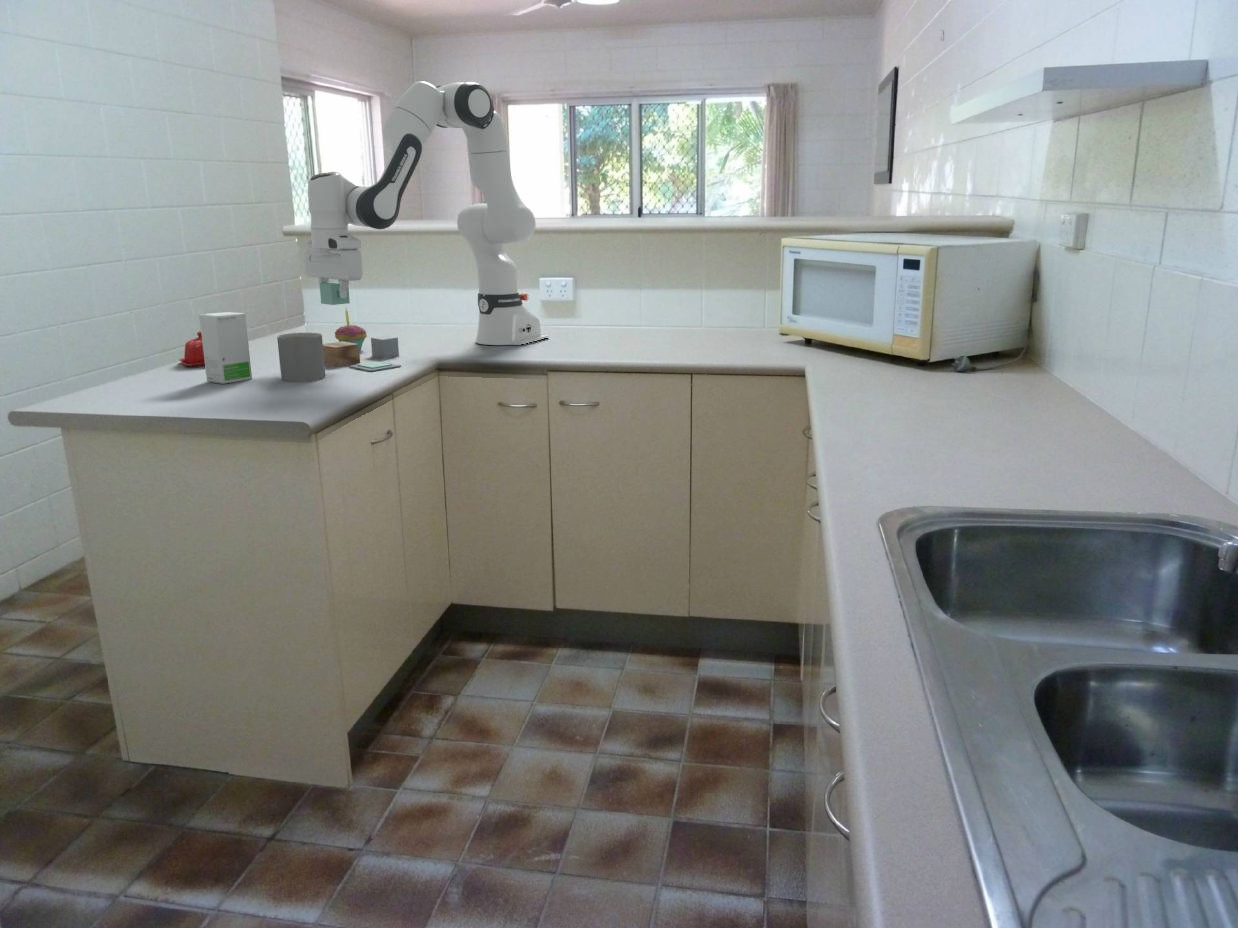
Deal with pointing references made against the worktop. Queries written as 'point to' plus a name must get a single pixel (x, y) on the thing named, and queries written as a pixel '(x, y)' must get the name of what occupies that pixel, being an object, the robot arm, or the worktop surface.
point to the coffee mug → (301, 357)
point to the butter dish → (194, 352)
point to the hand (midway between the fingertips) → (334, 297)
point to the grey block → (385, 346)
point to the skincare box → (225, 347)
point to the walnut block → (341, 353)
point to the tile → (375, 366)
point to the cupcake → (351, 333)
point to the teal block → (332, 294)
